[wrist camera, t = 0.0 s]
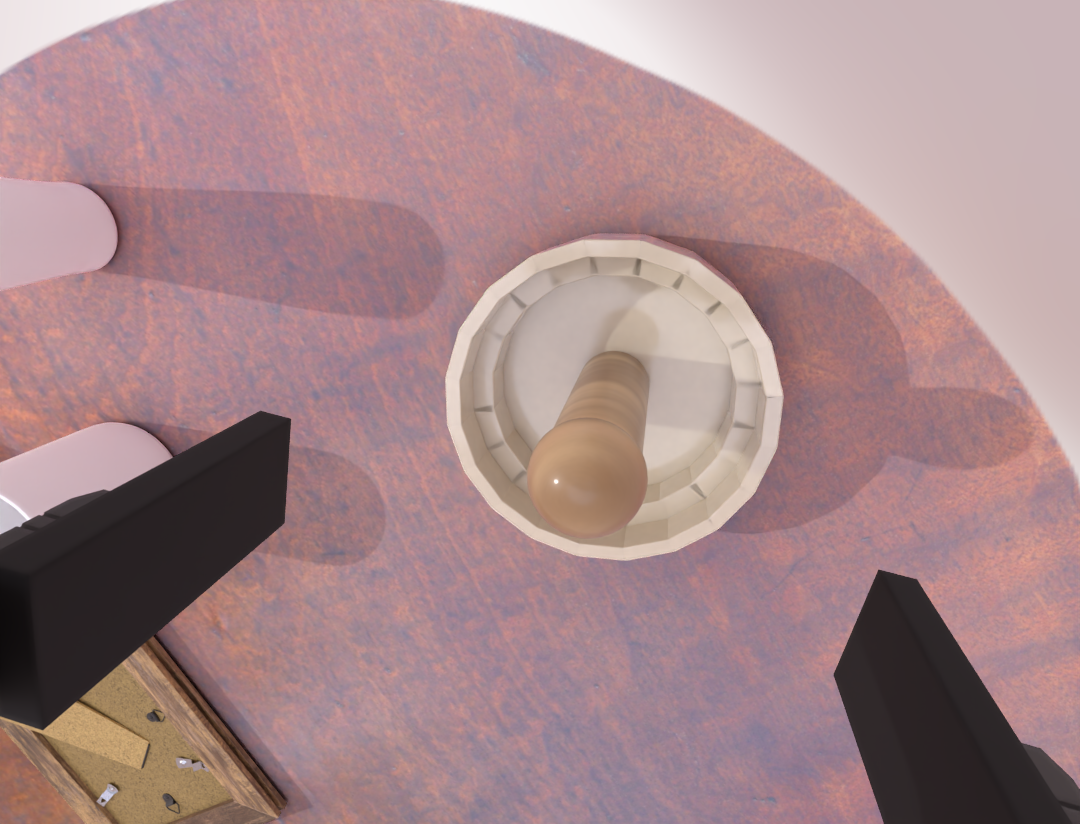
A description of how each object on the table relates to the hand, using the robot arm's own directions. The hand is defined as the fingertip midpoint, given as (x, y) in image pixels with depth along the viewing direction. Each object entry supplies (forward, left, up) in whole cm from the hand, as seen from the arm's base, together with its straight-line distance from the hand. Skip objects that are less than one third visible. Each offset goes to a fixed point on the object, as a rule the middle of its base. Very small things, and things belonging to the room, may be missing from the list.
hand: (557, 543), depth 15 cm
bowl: (+3, -1, -24) cm, 24 cm away
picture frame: (+21, -48, -24) cm, 58 cm away
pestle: (+3, -1, -23) cm, 24 cm away
